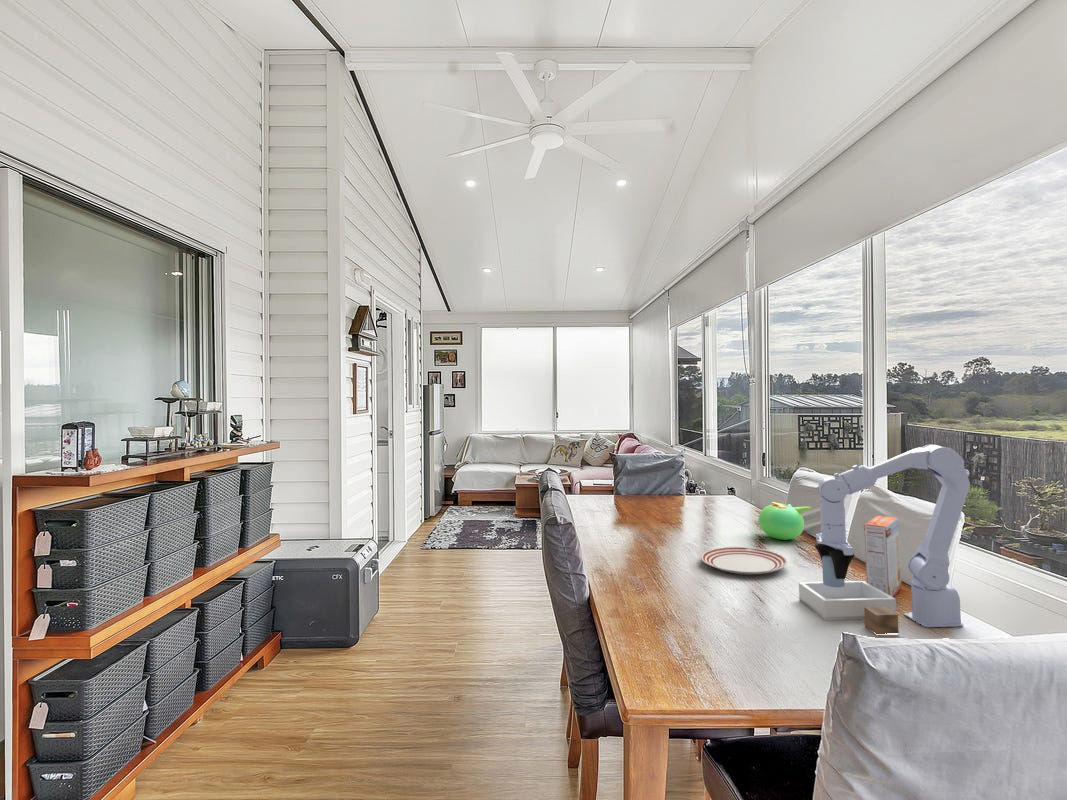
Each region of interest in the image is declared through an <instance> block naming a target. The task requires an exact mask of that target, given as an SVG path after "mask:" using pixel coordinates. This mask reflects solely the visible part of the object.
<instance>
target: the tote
mask: <svg viewBox="0 0 1067 800" xmlns="http://www.w3.org/2000/svg"><path fill="white" fill-rule="evenodd" d="M798 596H799V599H798V600H799V601H800V602H801V603H802V604H803V603H804V605H805V606H806V607H807V608H808V609H809V610H811V611H812V612H814V613H815V614H816V615H817V616H819V617H820V618H821V619H822V620H824V621H850V620H851V621H852V620H855V621H856V620H857V619H860V620H865V611H864V607H886V608H888V609H890V610H891V611H893V612H894V613H896V614H897V599H896V598H895V597H891V596H890V595H888V594H886V593H884V592H883V591H881V590H879V589H877V588H875V587H874V586H872V585H870V584H868V583H867V581H864V580H845V586H844V587H840V588H836V587H829V586H826V585H824V584H823V581H808V582H807V581H806V582H805V581H804V582H798Z"/></svg>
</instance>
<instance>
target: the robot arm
mask: <svg viewBox="0 0 1067 800" xmlns="http://www.w3.org/2000/svg"><path fill="white" fill-rule="evenodd" d="M908 469H919V470H929V471H930V472H931V473H932V474H933V475H934V476H935V478H936V479H937V480H938V481H939V483H940V484H941V487H940V489H939V493H938V497H937V499H936V502H935V506H934V508H933V511H932V515H931V518H930V521H929V524H928V528H927V531H926V534H925V536H924V540H923V542H922V544H921V545H920V546H918V547H917V549H916V552H915V553H914V555H913V556H912V557H910V558H909V560H908V563H907V568H908V570H909V572H910V573H911V574H912V575H913V577H912V579H911V580H910V584H911V585H910V586H911V588H910V589H911V591H910V593H911V612H904V613H903V615H904V616H905V617H907V618H909V619H911V620H912V621H913V622H915V621H916V623H917V624H919V625H920V624H921V626H922V627H924V628H944V627H945V628H948V627H949V628H950V627H964V624H963V623H962V622H961V619H962V618H961V599H960V595H959V593H958V591H957V589H956V588H955V587H953V586H952V585H950V584H949V582H950V573H949V567H950V559H949V550H950V548H951V544H952V542H953V541H952V540H953V539H954V535H955V532H956V529H957V526H958V523H959V521H960V520H959V519H960V518H961V514H962V511H963V508H964V505H965V502H966V499H967V496H968V494H969V490H970V487H971V484H970V483H971V482H970V479H969V476H968V473H967V470H966V467H965V460H964V459H963V458H962V457H961V455H960V454H959V453H958V452H957V451H955V450H954V449H953V448H951V447H947V446H946V447H945V446H941V445H939V444H935V443H933V444H932V443H930V444H926V445H924V446H922V447H916V448H912V449H911V450H908V451H906V452H903V453H901V454H899V455H896V456H893V457H892V458H889V459H886V460H884V461H882V462H880V463H879V462H878V463H877V464H875V465H873V466H871V467H869V466H867V465H862V464H861V465H857V464H855V465H852V466H851V469H849V470H846V471H844V472H841V473H838V472H836V473H834V474H833V476H834V477H831V476H829V477H828V476H827V477H825V478H822V479H821V480H820V482H819V483H818V486H817V491H818V493H819V495H820V500H819V501H820V505H819V508H820V511H819V512H820V513H819V514H820V533H816V534H815V540H816V544H814V547H815V549H816V551H817V552H818V555H819V556H820V557H819V558H820V559H821V561H822V556H824V555H830V556H831V558H832V561H833V565H834V571H835V576H836V578H837V579H844V580H846V577H847V573H848V570H849V566H850V565H851V564H850V563H851V562H852V560H853V559H854V557H855V553H854V547H853V546H851V545H850V543H849V542H848V540H847V534H846V533H847V531H846V528H847V527H846V526H847V525H846V507H845V498H846V497H847V495H849V496H850V495H852V494H855V493H858V492H860V491H864V490H866V489H869V488H871V487H874V486H875V484H876V482H877V481H878V480H879V479H880V478H883V477H886V476H887V477H888V476H889V475H893V474H895V473H899V472H902V471H905V470H908Z"/></svg>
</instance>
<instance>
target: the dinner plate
mask: <svg viewBox="0 0 1067 800" xmlns="http://www.w3.org/2000/svg"><path fill="white" fill-rule="evenodd" d="M700 559H701V560H702V562H703V563H704V564H706V565H708V566H710V567H713V568H715V569H716V570H717V569H718V570H720V571H723V572H727V573H729V574H730V573H731V574H736V575H743V574H744V576H745V575H746V576H749V575H750V576H754V575H755V576H758V574H759V575H764V574H769V573H774V572H777V571H779V570H781V569H784V568H785V567H786V566H787V565H788V559H787V558H786V556H784V555H783V554H780V553H778V552H775V551H772V550H769V549H763V548H759V547H758V548H757V547H749V546H748V547H747V546H725V547H723V546H722V547H717V548H713V549H709V550H706V551H704V552H703V553H702V554H701V556H700Z"/></svg>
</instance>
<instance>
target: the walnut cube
mask: <svg viewBox="0 0 1067 800" xmlns="http://www.w3.org/2000/svg"><path fill="white" fill-rule="evenodd" d="M864 611H865V619H864V627H865V629H867V630H868V629H869V630H868V631H870V630H871V631H873V632H875V633H876V634H885V633H886V634H887V633H900V632H899V629H900V628H899V614H898V613H897V612H896V613H894V612H893V611H891V610H890V609H888V608H886V607H864ZM871 631H870V632H871ZM873 632H872V633H873ZM876 634H875V635H876Z"/></svg>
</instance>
